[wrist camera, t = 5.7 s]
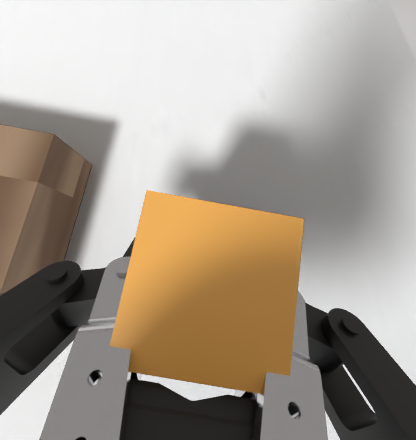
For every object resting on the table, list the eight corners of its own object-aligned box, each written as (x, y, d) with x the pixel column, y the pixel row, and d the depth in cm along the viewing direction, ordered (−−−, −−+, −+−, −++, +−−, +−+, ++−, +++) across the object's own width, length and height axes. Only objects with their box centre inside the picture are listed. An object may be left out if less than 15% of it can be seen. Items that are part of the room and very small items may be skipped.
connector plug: (233, 241, 15) (304, 218, 5) (225, 295, 14) (288, 398, 4) (182, 231, 15) (146, 190, 5) (171, 286, 14) (104, 367, 4)
